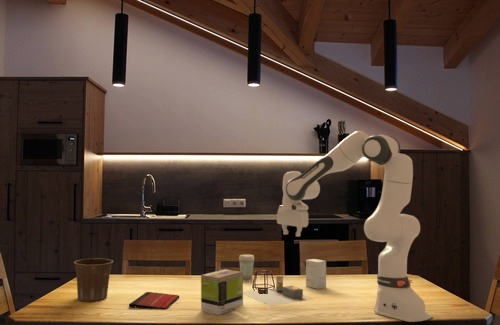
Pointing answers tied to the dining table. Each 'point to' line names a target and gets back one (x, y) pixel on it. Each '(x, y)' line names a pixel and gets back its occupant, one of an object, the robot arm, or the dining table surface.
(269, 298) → the floor panel
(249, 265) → the coffee cup
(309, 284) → the small box
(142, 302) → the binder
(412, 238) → the robot arm
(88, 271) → the plant pot
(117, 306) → the dining table surface
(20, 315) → the dining table surface
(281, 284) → the peg
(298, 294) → the grey rectangular block
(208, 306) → the tea box
